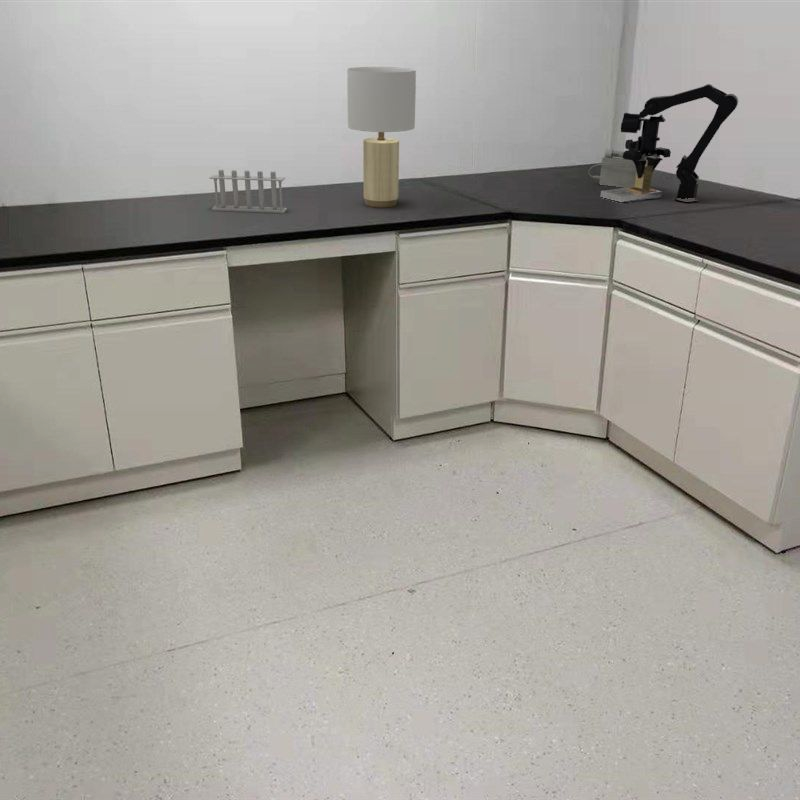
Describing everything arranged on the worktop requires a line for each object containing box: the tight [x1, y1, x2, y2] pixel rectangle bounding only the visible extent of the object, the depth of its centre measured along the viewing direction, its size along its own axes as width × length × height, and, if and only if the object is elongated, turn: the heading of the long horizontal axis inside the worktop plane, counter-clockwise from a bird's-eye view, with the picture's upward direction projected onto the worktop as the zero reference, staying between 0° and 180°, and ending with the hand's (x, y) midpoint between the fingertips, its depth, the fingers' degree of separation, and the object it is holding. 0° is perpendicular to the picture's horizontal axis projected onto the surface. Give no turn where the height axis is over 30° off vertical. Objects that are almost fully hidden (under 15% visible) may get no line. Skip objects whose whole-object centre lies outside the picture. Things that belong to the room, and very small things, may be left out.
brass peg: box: [634, 164, 654, 189], centre depth 308 cm, size 4×4×8 cm
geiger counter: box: [587, 148, 649, 188], centre depth 324 cm, size 14×6×25 cm
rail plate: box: [600, 187, 663, 202], centre depth 309 cm, size 20×11×3 cm, turn 119°
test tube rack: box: [209, 169, 287, 214], centre depth 280 cm, size 25×4×13 cm, turn 85°
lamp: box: [346, 66, 417, 209], centre depth 284 cm, size 23×23×44 cm
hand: (643, 177), depth 308 cm, fingers closed on brass peg, 4 cm apart
